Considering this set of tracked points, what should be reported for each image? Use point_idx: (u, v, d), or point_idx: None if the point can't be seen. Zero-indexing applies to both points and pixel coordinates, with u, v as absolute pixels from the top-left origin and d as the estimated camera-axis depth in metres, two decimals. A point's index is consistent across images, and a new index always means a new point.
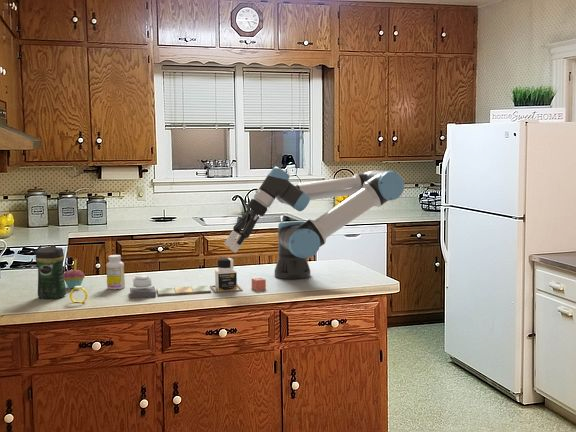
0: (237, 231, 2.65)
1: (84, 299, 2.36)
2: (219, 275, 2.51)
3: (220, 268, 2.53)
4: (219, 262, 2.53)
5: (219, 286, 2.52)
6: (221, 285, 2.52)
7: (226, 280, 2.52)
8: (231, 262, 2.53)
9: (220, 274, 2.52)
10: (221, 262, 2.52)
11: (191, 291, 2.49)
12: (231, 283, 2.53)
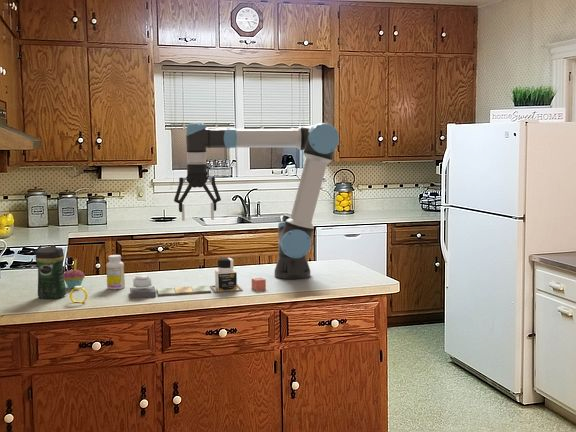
0: (213, 201, 2.61)
1: (84, 299, 2.36)
2: (219, 275, 2.51)
3: (220, 268, 2.53)
4: (219, 262, 2.53)
5: (219, 286, 2.52)
6: (221, 285, 2.52)
7: (226, 280, 2.52)
8: (231, 262, 2.53)
9: (220, 274, 2.51)
10: (221, 262, 2.52)
11: (191, 291, 2.49)
12: (231, 283, 2.53)
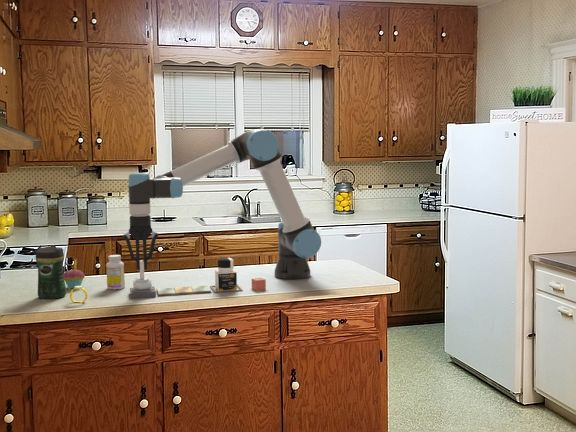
0: (143, 259, 2.46)
1: (84, 299, 2.36)
2: (219, 275, 2.51)
3: (220, 268, 2.53)
4: (219, 262, 2.53)
5: (219, 286, 2.52)
6: (221, 285, 2.52)
7: (226, 280, 2.52)
8: (231, 262, 2.53)
9: (220, 274, 2.51)
10: (221, 262, 2.52)
11: (191, 291, 2.49)
12: (231, 283, 2.53)
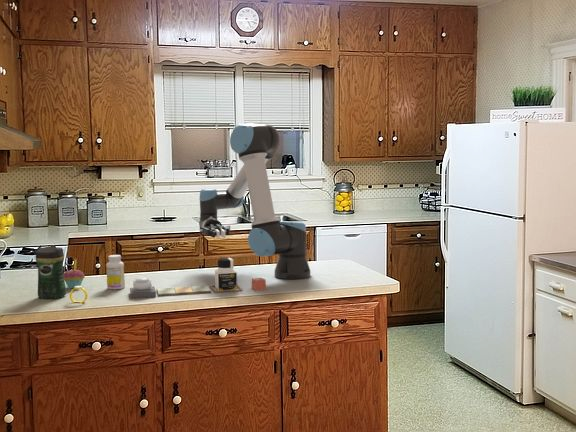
0: None
1: (84, 299, 2.36)
2: (219, 275, 2.51)
3: (220, 268, 2.53)
4: (219, 262, 2.53)
5: (219, 286, 2.52)
6: (221, 285, 2.52)
7: (226, 280, 2.52)
8: (231, 262, 2.53)
9: (220, 274, 2.51)
10: (221, 262, 2.52)
11: (191, 291, 2.49)
12: (231, 283, 2.53)
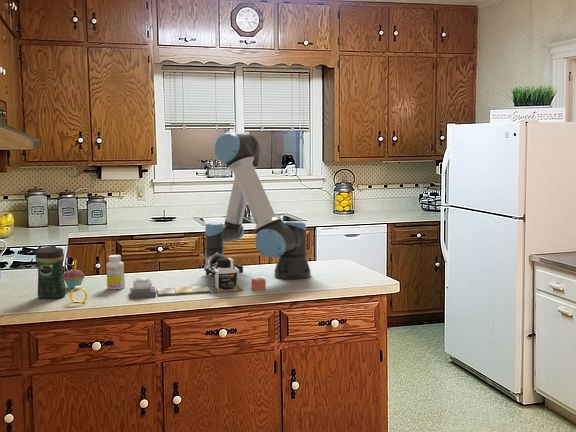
0: None
1: (84, 299, 2.36)
2: (219, 275, 2.51)
3: (220, 268, 2.53)
4: (219, 262, 2.53)
5: (219, 286, 2.52)
6: (221, 285, 2.52)
7: (226, 280, 2.52)
8: (231, 262, 2.53)
9: (220, 274, 2.52)
10: (221, 262, 2.52)
11: (191, 291, 2.49)
12: (231, 283, 2.53)
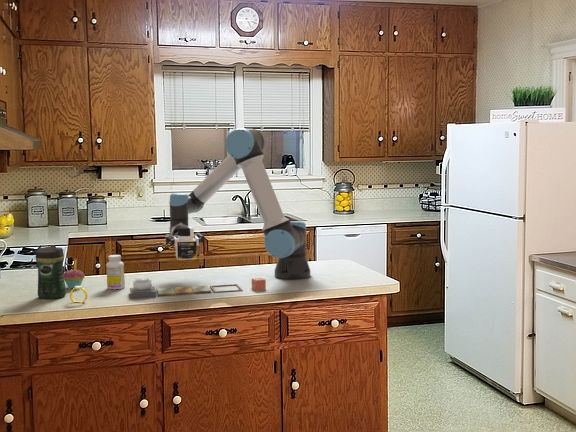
0: None
1: (84, 299, 2.36)
2: (178, 243, 2.47)
3: (179, 236, 2.48)
4: (179, 230, 2.48)
5: (178, 254, 2.47)
6: (180, 253, 2.47)
7: (185, 248, 2.48)
8: (191, 230, 2.49)
9: (179, 242, 2.47)
10: (180, 230, 2.48)
11: (191, 291, 2.49)
12: (190, 251, 2.48)
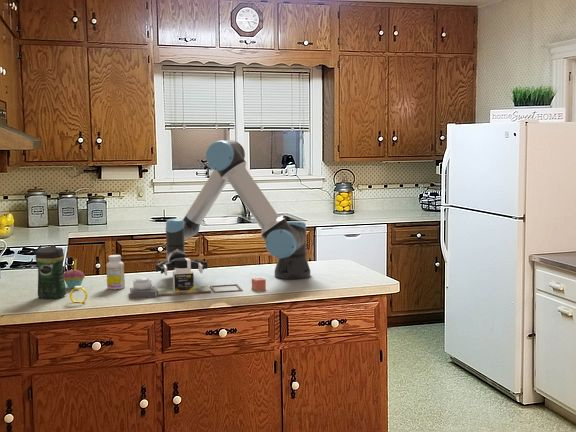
0: None
1: (84, 299, 2.36)
2: (175, 275, 2.47)
3: (177, 268, 2.49)
4: (176, 262, 2.49)
5: (175, 287, 2.48)
6: (177, 286, 2.48)
7: (182, 281, 2.48)
8: (188, 262, 2.49)
9: (176, 274, 2.47)
10: (177, 262, 2.48)
11: (191, 291, 2.49)
12: (187, 283, 2.49)
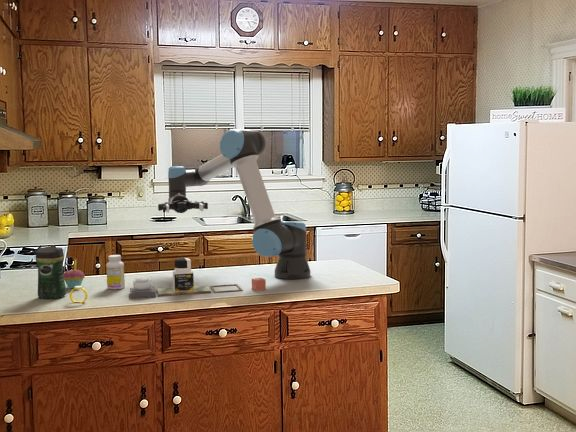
0: None
1: (84, 299, 2.36)
2: (175, 275, 2.47)
3: (177, 268, 2.49)
4: (176, 262, 2.49)
5: (175, 287, 2.48)
6: (177, 286, 2.48)
7: (182, 281, 2.48)
8: (188, 262, 2.49)
9: (176, 274, 2.47)
10: (177, 262, 2.48)
11: (191, 291, 2.49)
12: (187, 283, 2.49)
